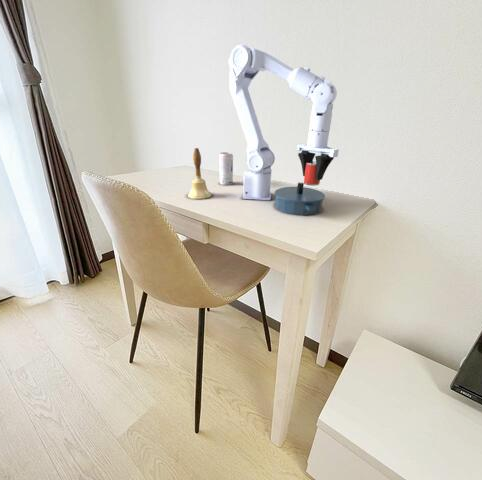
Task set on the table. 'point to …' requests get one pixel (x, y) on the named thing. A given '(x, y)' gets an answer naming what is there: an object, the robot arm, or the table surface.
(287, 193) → the lid
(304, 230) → the table surface
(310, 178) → the tin can
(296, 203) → the pot
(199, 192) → the hand bell
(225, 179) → the energy drink
